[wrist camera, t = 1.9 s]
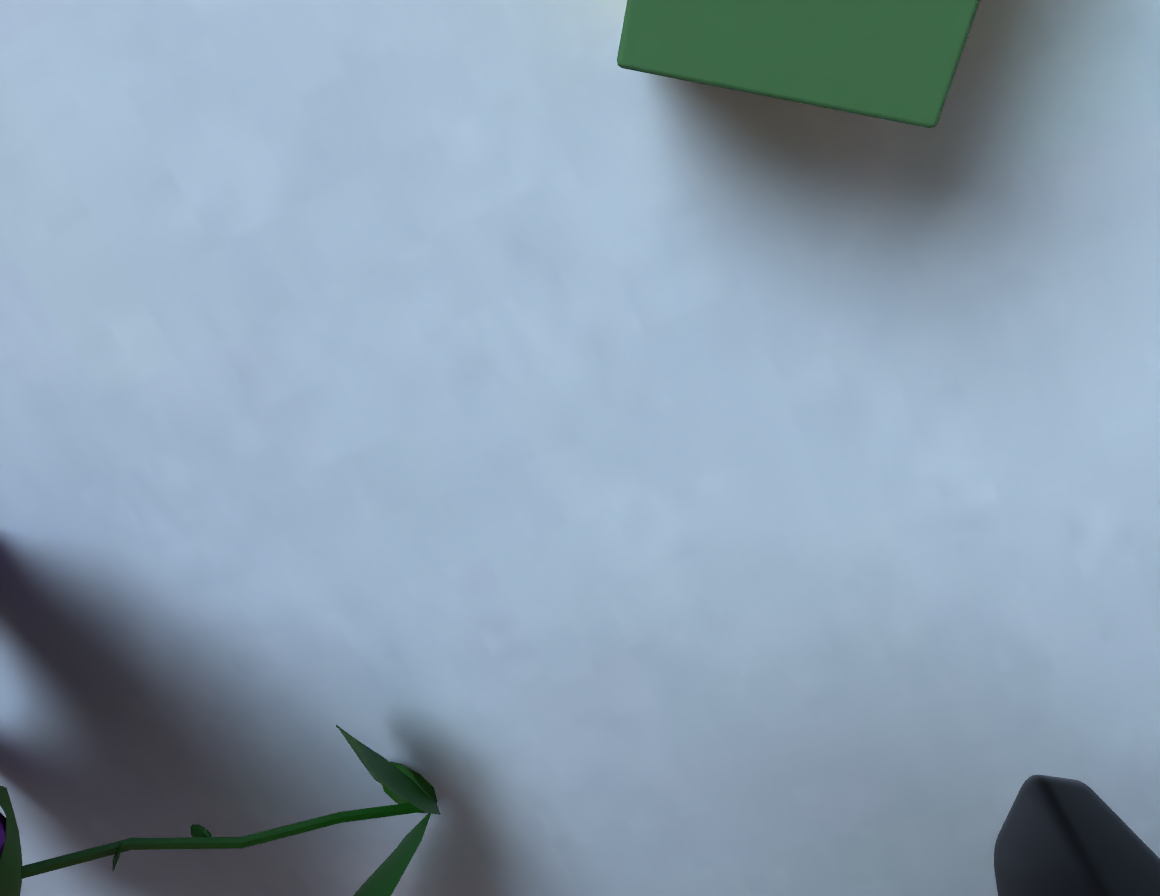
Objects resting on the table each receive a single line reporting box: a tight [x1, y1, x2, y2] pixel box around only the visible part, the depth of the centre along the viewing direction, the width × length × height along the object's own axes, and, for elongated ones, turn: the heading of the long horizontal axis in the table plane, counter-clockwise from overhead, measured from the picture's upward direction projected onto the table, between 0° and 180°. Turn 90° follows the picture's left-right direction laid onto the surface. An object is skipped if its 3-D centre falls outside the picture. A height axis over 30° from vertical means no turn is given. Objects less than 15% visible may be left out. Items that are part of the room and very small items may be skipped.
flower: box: [0, 725, 441, 896], centre depth 22 cm, size 15×15×14 cm
